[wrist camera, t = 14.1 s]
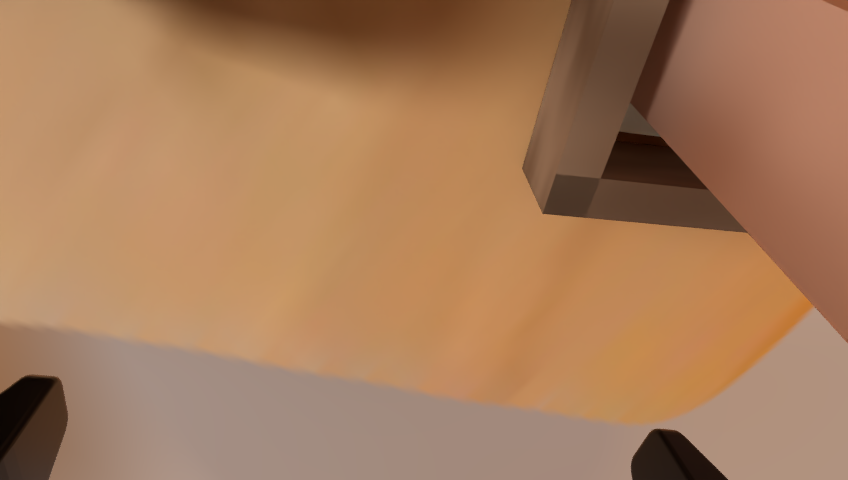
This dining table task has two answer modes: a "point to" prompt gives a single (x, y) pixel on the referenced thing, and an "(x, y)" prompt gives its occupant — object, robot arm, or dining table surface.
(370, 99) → the dining table surface
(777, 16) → the terracotta block
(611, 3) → the corner bracket
